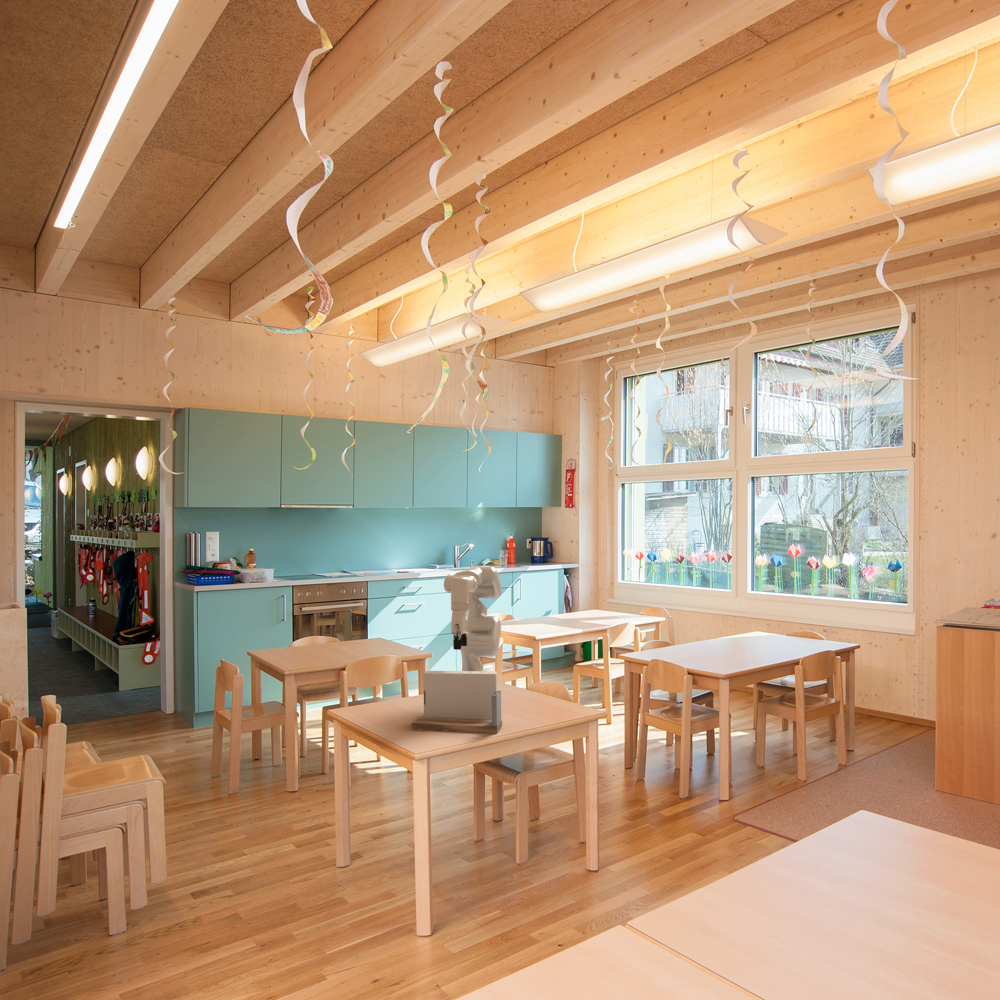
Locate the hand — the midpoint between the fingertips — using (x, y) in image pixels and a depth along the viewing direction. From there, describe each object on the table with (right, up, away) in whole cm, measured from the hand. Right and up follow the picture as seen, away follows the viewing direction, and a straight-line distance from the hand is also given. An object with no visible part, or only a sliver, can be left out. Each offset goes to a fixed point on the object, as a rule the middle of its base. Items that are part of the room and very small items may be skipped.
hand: (460, 647), depth 322 cm
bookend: (+15, -27, -16) cm, 35 cm away
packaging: (0, -31, -1) cm, 31 cm away
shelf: (-1, -30, -13) cm, 33 cm away
